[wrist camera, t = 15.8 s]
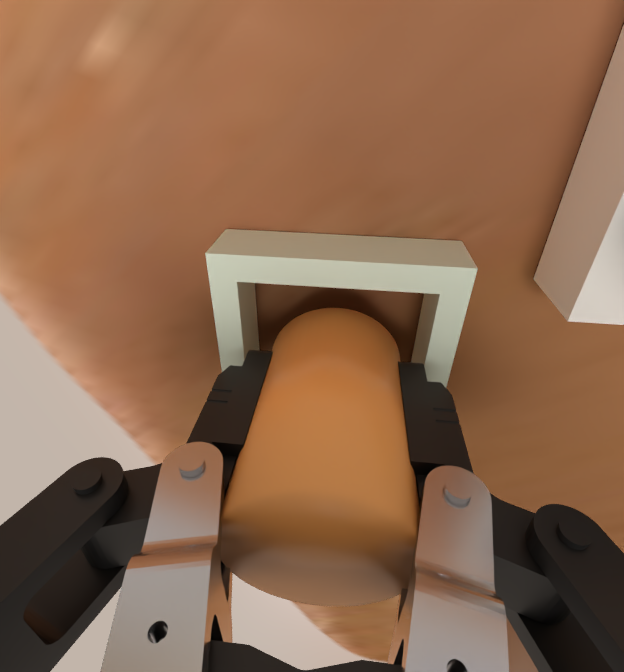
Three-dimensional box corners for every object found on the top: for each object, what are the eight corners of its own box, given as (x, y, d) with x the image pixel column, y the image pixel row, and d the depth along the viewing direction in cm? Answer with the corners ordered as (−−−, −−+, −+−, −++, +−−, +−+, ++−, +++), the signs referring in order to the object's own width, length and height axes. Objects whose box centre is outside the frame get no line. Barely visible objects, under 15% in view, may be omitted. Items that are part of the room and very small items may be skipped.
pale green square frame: (421, 414, 16) (428, 454, 14) (244, 399, 17) (230, 436, 15) (461, 240, 12) (477, 268, 10) (225, 228, 13) (205, 253, 11)
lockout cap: (391, 414, 14) (408, 616, 9) (274, 404, 14) (225, 593, 9) (409, 312, 11) (445, 505, 6) (269, 303, 12) (200, 480, 7)
